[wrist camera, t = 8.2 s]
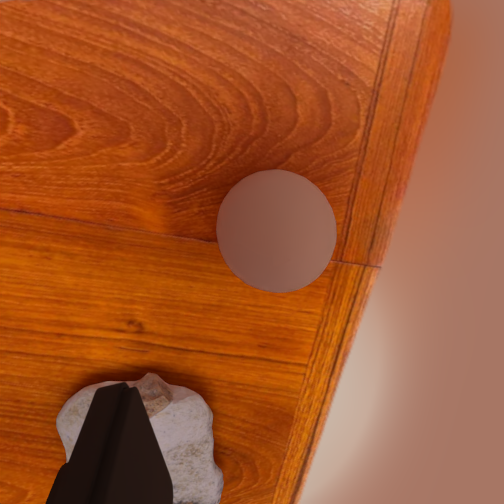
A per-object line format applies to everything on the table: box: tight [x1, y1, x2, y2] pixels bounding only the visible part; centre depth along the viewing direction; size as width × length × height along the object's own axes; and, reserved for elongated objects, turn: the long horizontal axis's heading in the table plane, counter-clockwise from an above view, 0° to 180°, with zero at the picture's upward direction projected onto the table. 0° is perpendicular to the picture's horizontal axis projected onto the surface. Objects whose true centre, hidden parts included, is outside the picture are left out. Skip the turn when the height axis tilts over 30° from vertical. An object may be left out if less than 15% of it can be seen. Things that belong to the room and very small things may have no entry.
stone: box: [56, 372, 223, 504], centre depth 24 cm, size 12×9×3 cm
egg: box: [216, 169, 337, 293], centre depth 18 cm, size 5×5×7 cm
